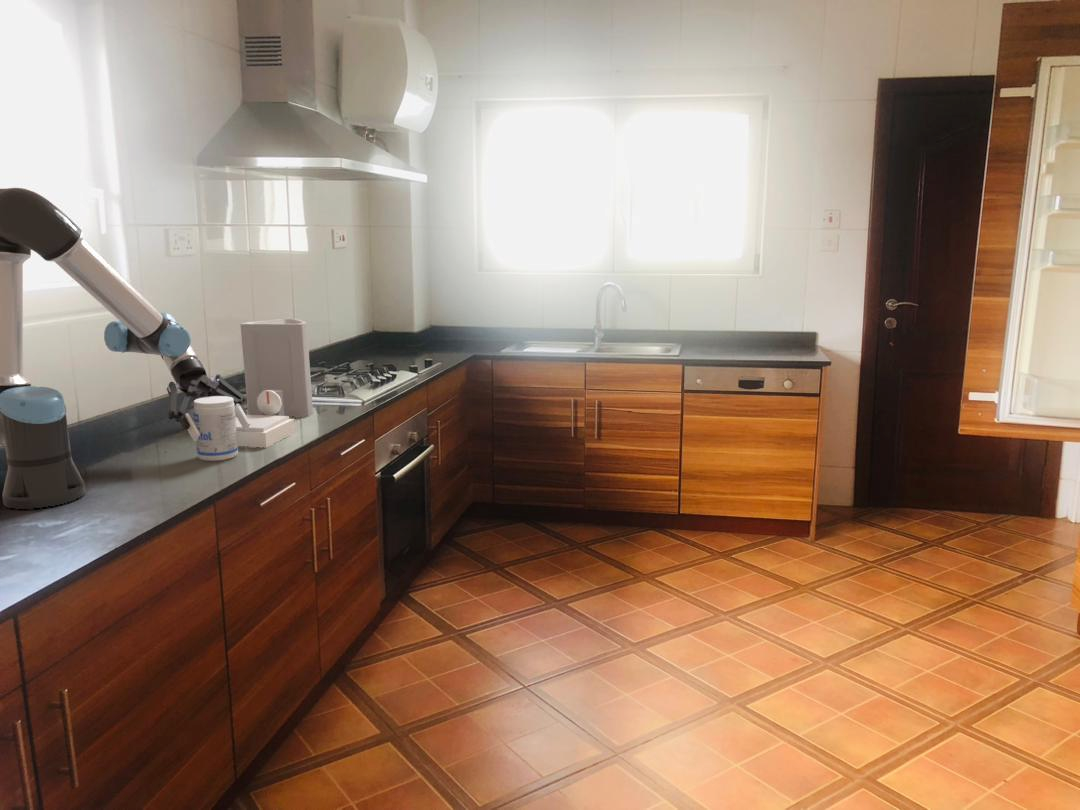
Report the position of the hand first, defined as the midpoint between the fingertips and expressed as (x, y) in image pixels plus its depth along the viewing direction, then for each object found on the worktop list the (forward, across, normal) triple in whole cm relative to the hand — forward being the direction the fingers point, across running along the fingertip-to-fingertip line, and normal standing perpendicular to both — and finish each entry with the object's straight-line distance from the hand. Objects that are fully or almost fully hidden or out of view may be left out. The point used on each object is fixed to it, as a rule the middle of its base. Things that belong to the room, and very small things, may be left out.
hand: (223, 432), depth 205 cm
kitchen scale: (-4, -18, -14) cm, 23 cm away
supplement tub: (+3, 0, -7) cm, 8 cm away
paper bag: (-19, -42, -29) cm, 54 cm away
